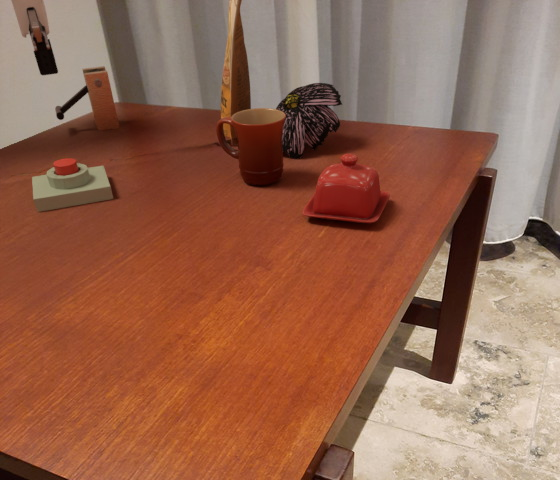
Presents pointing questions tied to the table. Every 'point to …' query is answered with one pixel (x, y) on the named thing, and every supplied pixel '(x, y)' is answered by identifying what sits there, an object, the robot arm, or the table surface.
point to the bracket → (101, 98)
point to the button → (65, 166)
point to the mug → (256, 144)
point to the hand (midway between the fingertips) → (48, 68)
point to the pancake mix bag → (235, 72)
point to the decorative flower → (308, 117)
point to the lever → (71, 102)
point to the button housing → (71, 188)
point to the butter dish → (348, 193)
